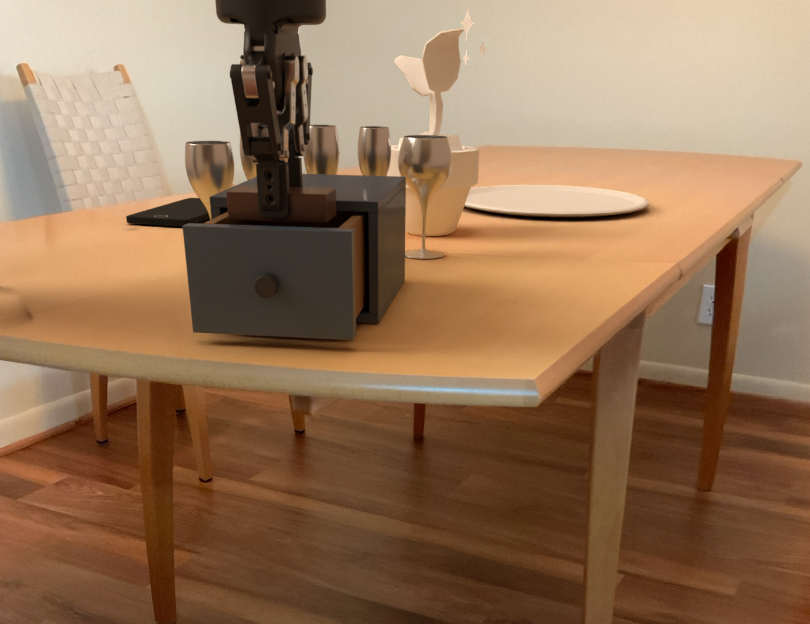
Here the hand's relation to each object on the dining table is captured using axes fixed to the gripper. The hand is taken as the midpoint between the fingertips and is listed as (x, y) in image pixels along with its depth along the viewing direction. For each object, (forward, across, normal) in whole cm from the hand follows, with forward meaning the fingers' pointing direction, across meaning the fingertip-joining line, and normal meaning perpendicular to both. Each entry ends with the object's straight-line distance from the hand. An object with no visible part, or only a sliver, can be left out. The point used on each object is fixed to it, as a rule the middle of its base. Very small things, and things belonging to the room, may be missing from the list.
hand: (281, 212), depth 69 cm
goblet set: (+9, -28, -3) cm, 30 cm away
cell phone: (+9, -54, -27) cm, 61 cm away
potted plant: (+9, -48, +6) cm, 49 cm away
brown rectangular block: (0, 0, 0) cm, 0 cm away
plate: (+9, -74, +21) cm, 77 cm away
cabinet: (+9, -12, 0) cm, 15 cm away
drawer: (+8, -2, 0) cm, 9 cm away
